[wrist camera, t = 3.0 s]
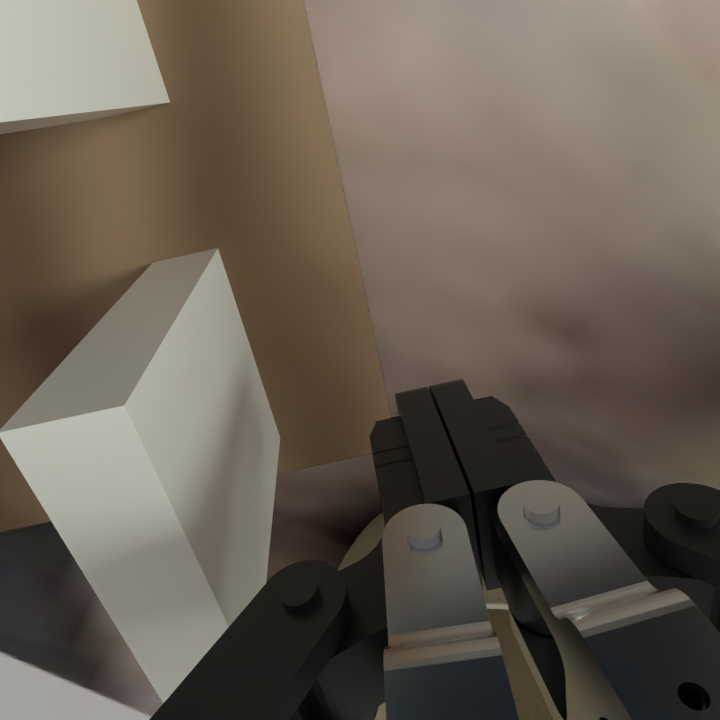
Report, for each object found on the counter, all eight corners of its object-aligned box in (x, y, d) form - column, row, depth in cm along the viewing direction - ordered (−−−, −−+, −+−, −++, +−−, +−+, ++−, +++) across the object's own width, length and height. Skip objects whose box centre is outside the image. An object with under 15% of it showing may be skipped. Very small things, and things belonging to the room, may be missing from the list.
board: (222, -383, 11) (214, -421, 11) (394, 432, 21) (397, 448, 20) (-584, -180, 12) (-656, -201, 11) (-58, 528, 21) (-75, 547, 20)
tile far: (218, 248, 16) (124, 405, 8) (280, 437, 19) (256, 685, 11) (148, 263, 16) (-13, 435, 8) (221, 450, 20) (156, 705, 12)
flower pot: (256, 572, 24) (235, 752, 17) (397, 407, 20) (434, 554, 14) (433, 649, 27) (470, 825, 21) (579, 516, 24) (677, 676, 17)
